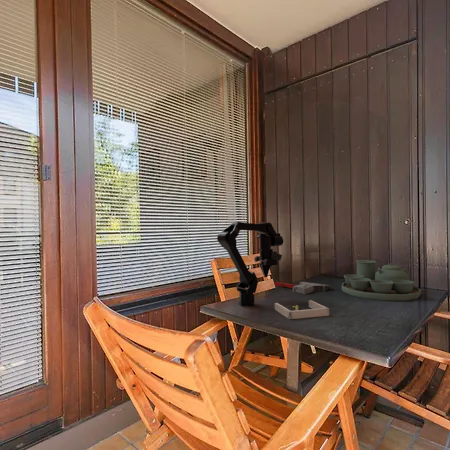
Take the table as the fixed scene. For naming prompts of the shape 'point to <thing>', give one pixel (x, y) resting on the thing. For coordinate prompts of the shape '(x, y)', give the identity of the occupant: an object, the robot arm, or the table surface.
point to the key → (295, 307)
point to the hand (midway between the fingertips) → (265, 277)
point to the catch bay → (304, 311)
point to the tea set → (380, 283)
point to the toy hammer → (304, 287)
